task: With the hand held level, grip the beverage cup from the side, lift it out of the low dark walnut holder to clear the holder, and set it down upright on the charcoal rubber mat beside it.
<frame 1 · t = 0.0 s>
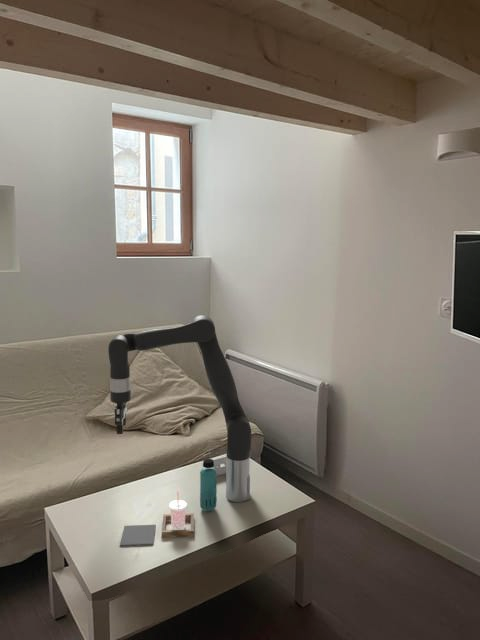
hand: (121, 429, 187), 29 cm above the table, tool pointing down, fingers open, 8 cm apart
beverage bottle: (208, 510, 186), on the table
rubber mat: (138, 535, 169), on the table
cassette: (222, 473, 215), on the table
walnut holder: (178, 527, 174), on the table
beverage cup: (178, 528, 174), resting in walnut holder
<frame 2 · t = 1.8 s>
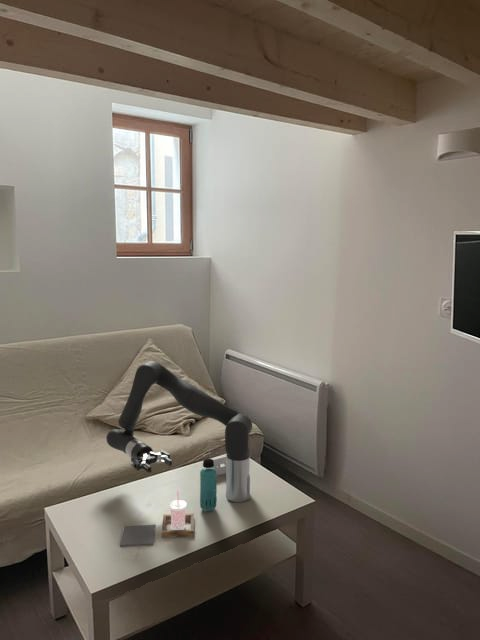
hand: (160, 466, 179), 19 cm above the table, tool horizontal, fingers open, 8 cm apart
nothing on the table moved.
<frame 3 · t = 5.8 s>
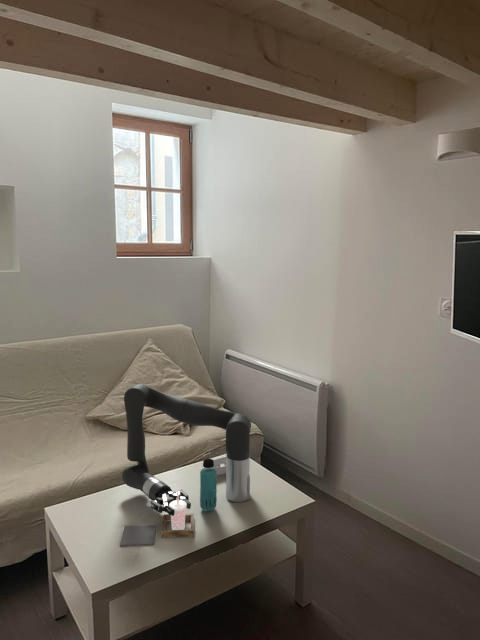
hand: (181, 509, 171), 8 cm above the table, tool horizontal, fingers closed on beverage cup, 6 cm apart
beverage cup: (178, 528, 174), resting in walnut holder, touching gripper
everything else where it was.
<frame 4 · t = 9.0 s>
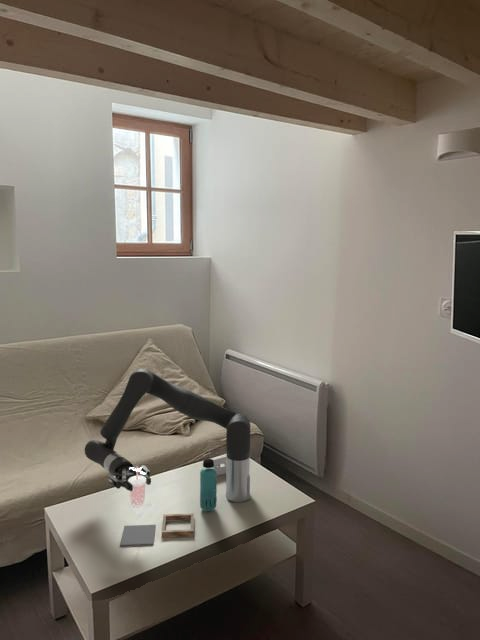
hand: (140, 485, 164), 20 cm above the table, tool horizontal, fingers closed on beverage cup, 6 cm apart
beverage cup: (137, 504, 167), point 12 cm above the table, touching gripper
everything else where it was.
when the fingers open (10 cm above the table, at t = 12.0 s): beverage cup stays where it is, resting on rubber mat.
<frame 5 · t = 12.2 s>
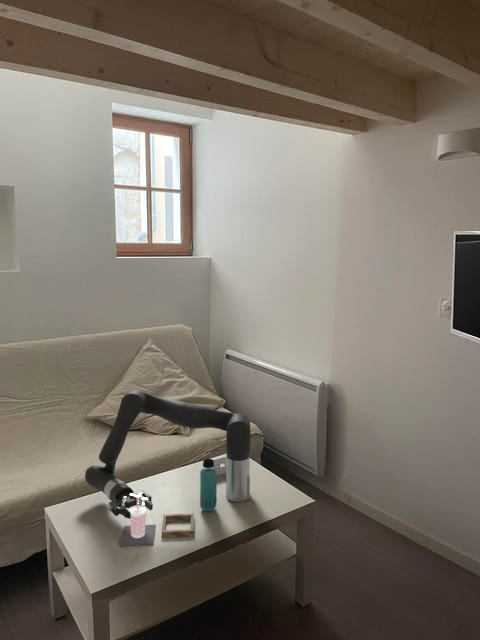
hand: (140, 511, 166), 10 cm above the table, tool horizontal, fingers open, 8 cm apart
beverage cup: (138, 534, 169), resting on rubber mat
everything else where it was.
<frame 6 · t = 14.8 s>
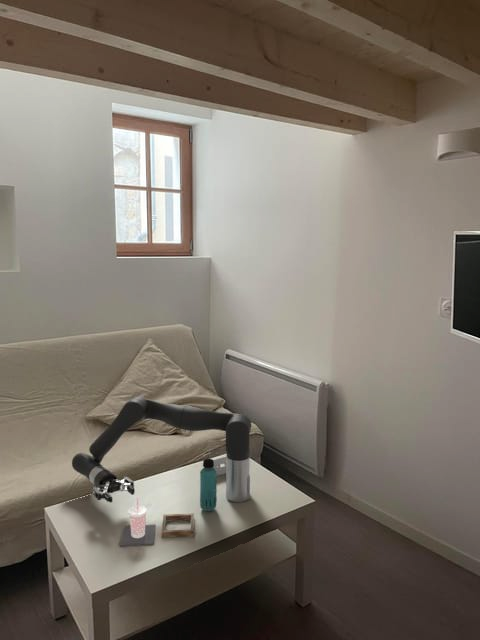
hand: (122, 496, 175), 10 cm above the table, tool horizontal, fingers open, 8 cm apart
nothing on the table moved.
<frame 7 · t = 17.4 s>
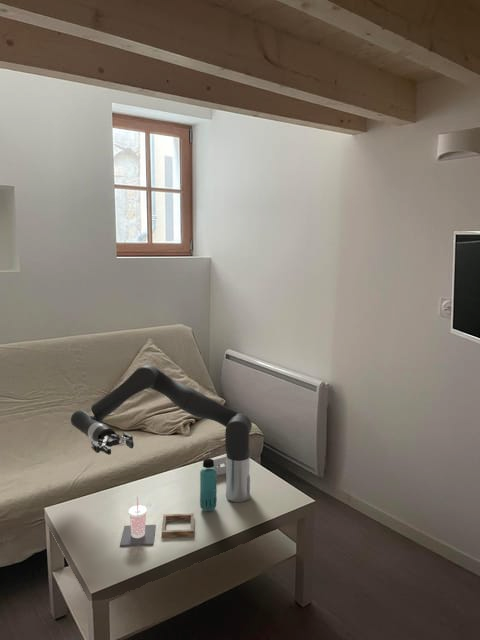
hand: (121, 448, 173), 28 cm above the table, tool horizontal, fingers open, 8 cm apart
nothing on the table moved.
at the end: beverage cup inside the target area on the rubber mat (0.1 cm from its centre), point 0.4 cm above the rubber mat's base; beverage cup tilted 0°; the gripper is holding nothing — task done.
